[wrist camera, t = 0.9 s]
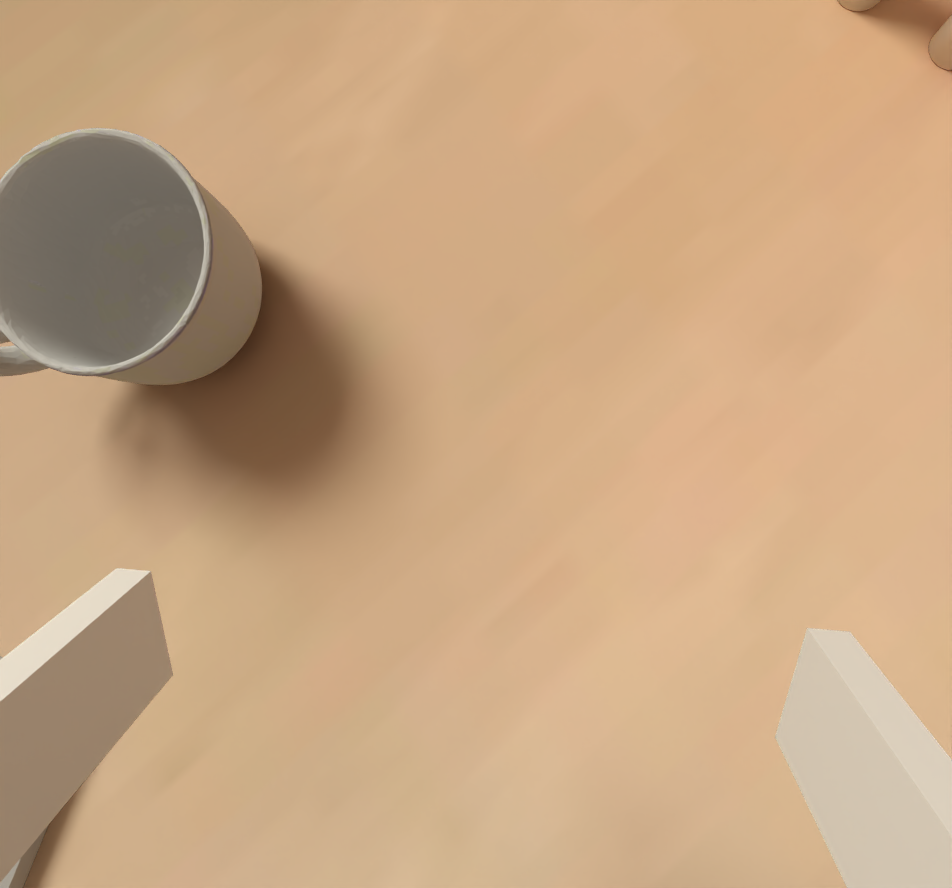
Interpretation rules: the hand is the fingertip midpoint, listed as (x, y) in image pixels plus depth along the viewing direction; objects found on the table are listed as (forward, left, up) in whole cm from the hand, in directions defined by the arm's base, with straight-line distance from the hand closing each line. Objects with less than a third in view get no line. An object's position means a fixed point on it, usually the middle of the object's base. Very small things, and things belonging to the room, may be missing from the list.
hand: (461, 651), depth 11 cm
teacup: (+19, +12, -17) cm, 29 cm away
